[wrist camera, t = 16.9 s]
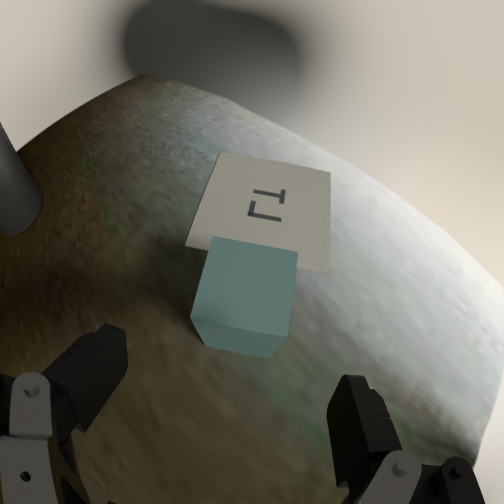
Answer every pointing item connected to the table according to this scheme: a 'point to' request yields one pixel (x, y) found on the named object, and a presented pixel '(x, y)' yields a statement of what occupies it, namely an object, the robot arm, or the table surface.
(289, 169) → the card
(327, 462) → the table surface
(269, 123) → the table surface
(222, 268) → the teal block
